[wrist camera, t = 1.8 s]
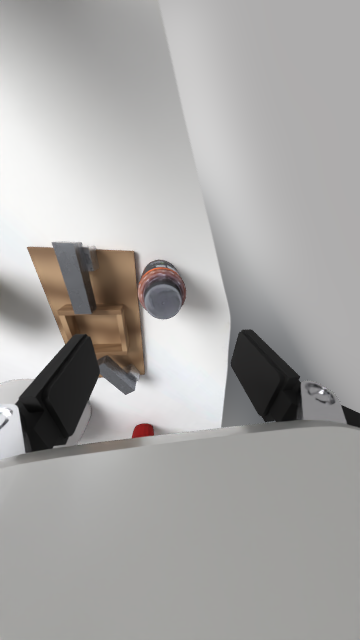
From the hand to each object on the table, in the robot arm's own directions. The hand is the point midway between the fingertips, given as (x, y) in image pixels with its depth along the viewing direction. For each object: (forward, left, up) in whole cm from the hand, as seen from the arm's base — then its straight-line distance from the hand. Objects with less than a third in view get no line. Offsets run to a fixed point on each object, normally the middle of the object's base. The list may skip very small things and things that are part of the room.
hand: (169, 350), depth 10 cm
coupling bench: (+9, -11, -18) cm, 23 cm away
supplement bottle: (0, 0, -19) cm, 19 cm away
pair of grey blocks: (+9, -9, -18) cm, 22 cm away
